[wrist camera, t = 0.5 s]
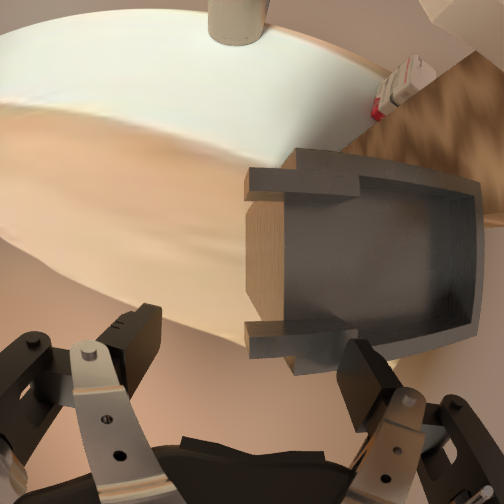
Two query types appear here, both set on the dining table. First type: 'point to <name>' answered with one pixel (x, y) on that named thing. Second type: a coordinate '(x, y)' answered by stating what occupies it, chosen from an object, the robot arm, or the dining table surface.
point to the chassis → (360, 258)
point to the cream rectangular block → (472, 24)
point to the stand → (450, 130)
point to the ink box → (402, 85)
